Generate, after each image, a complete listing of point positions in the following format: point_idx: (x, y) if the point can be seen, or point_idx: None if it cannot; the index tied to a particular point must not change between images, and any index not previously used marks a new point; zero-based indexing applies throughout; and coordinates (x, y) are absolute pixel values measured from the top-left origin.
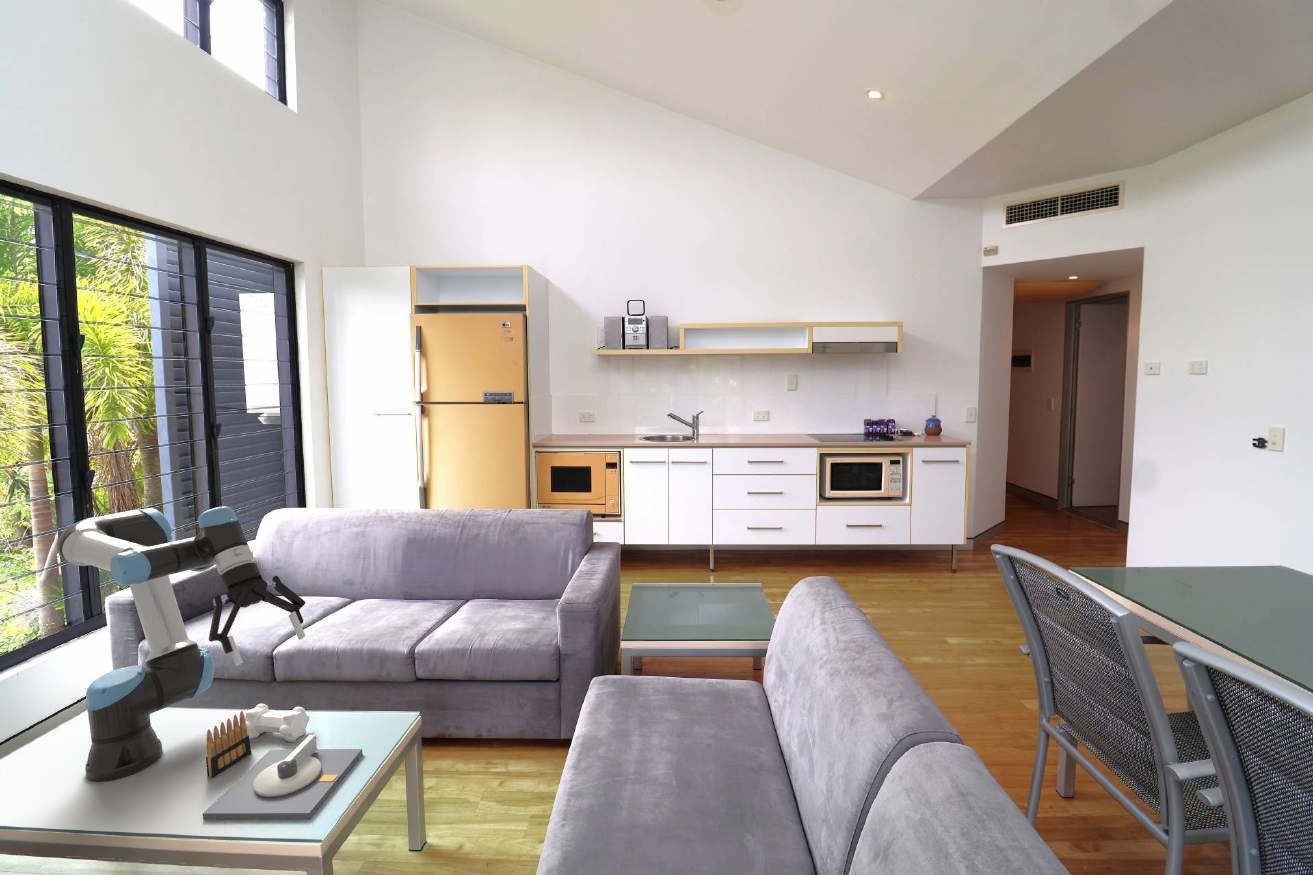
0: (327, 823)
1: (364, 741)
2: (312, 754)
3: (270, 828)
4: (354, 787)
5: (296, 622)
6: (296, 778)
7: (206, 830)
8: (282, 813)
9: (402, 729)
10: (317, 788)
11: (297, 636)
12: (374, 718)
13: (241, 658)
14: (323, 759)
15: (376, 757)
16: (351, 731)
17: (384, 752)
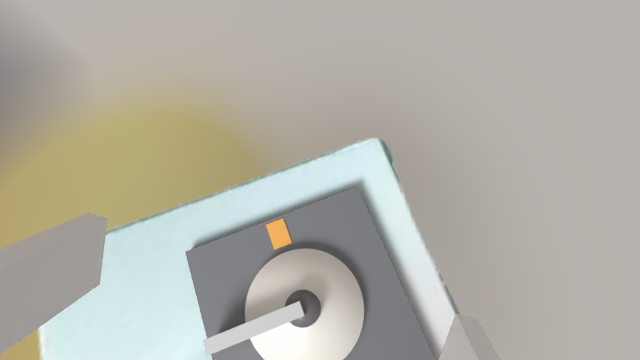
0: (352, 157)
1: (151, 287)
2: None
3: (397, 228)
4: (272, 188)
5: (7, 263)
6: (309, 276)
7: None
8: (375, 226)
9: None
10: (307, 227)
11: (79, 297)
12: (65, 342)
13: (462, 328)
14: (235, 296)
15: (192, 220)
16: (122, 349)
17: (175, 218)
